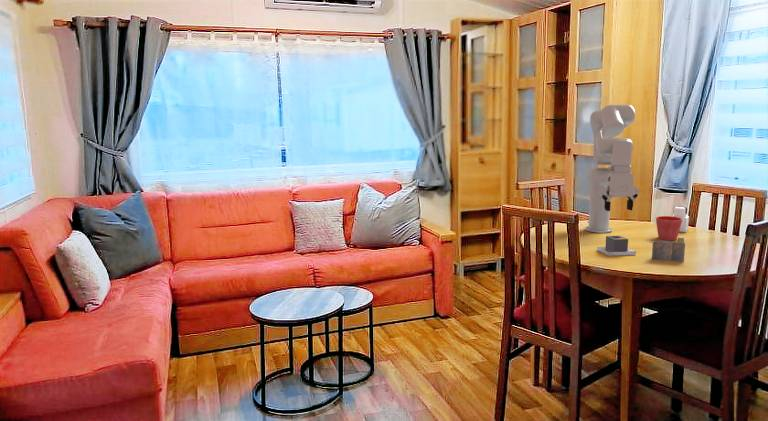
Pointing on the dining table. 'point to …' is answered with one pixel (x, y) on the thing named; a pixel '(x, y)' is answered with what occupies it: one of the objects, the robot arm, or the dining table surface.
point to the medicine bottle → (681, 213)
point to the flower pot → (668, 227)
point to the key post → (615, 252)
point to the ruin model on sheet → (669, 250)
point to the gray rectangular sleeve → (617, 243)
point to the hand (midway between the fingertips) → (618, 210)
